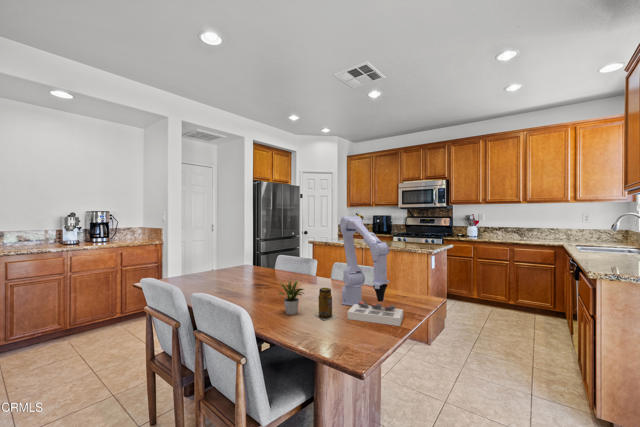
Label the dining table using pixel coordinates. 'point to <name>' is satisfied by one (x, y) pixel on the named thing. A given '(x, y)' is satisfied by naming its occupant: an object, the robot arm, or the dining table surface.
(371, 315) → the power strip
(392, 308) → the rocker right
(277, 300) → the dining table surface
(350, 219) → the robot arm
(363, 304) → the rocker left
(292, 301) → the house plant
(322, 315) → the condiment
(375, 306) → the rocker middle
